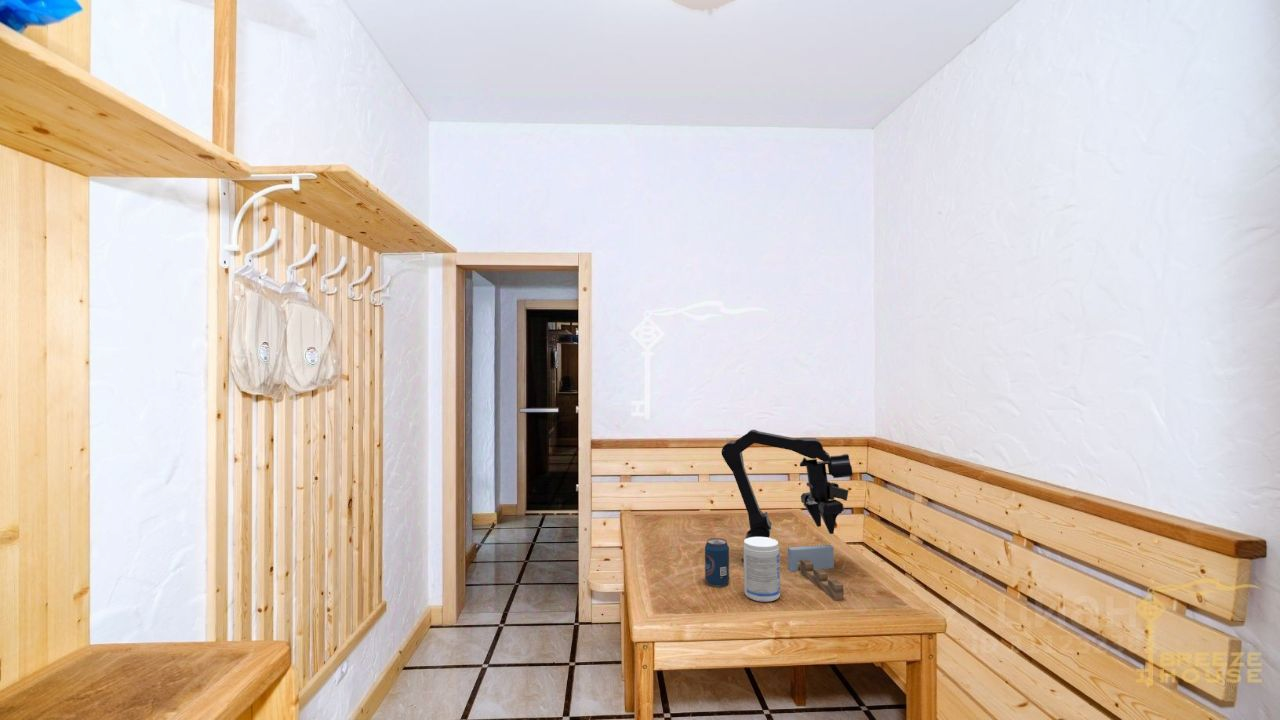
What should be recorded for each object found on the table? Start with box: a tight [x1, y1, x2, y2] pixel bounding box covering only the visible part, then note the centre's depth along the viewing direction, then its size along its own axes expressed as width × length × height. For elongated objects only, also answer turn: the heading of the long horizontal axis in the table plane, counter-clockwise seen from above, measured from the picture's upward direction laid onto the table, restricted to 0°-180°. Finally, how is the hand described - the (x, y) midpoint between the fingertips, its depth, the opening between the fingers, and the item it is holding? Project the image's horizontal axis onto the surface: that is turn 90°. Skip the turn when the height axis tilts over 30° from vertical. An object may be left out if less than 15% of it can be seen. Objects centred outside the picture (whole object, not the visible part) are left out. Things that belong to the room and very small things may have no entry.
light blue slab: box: [787, 544, 835, 573], centre depth 168 cm, size 14×2×6 cm, turn 101°
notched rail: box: [799, 559, 845, 601], centre depth 154 cm, size 20×2×4 cm, turn 11°
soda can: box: [704, 537, 730, 588], centre depth 157 cm, size 7×7×12 cm
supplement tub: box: [743, 537, 781, 603], centre depth 148 cm, size 10×10×15 cm
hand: (825, 530), depth 167 cm, fingers open, 9 cm apart
